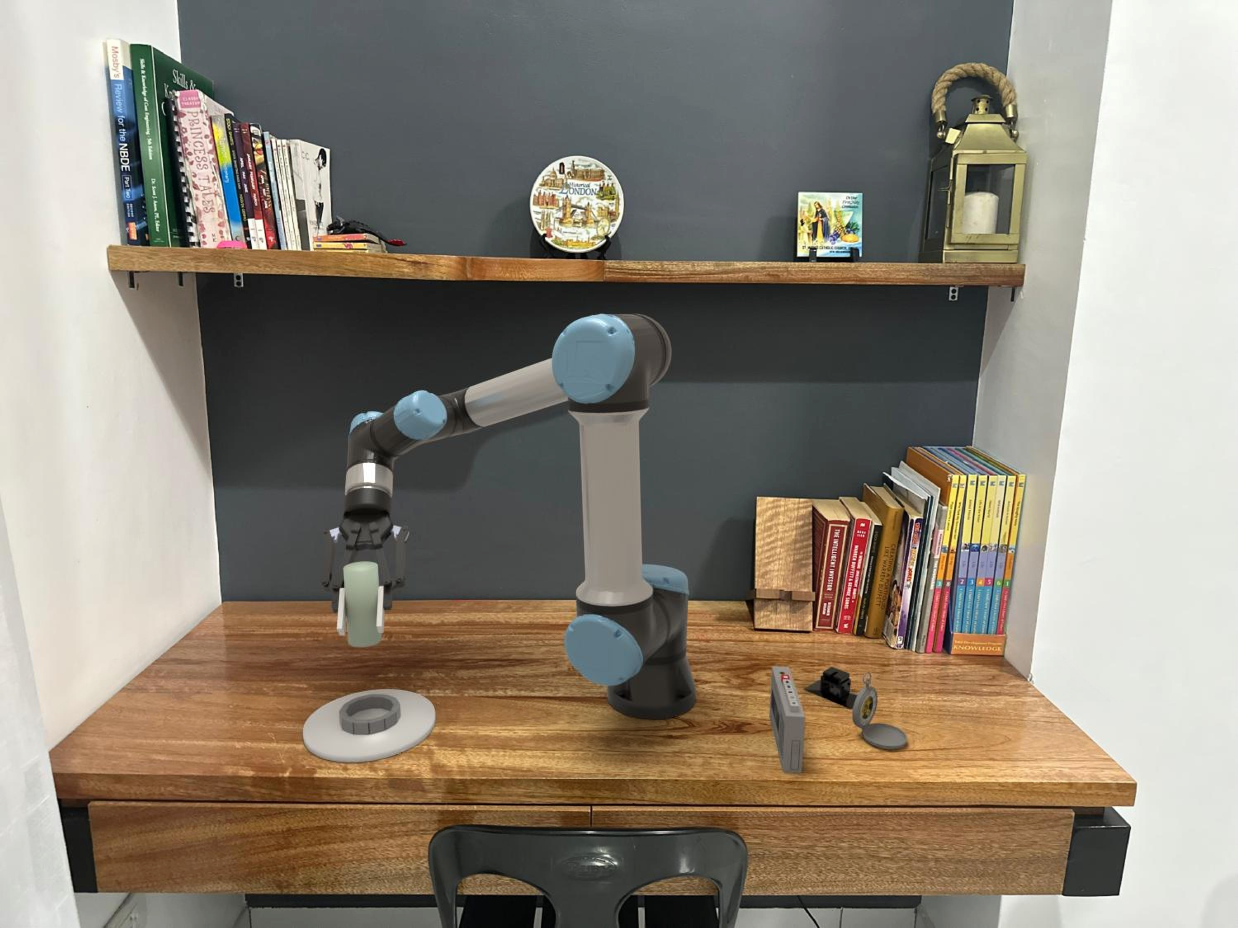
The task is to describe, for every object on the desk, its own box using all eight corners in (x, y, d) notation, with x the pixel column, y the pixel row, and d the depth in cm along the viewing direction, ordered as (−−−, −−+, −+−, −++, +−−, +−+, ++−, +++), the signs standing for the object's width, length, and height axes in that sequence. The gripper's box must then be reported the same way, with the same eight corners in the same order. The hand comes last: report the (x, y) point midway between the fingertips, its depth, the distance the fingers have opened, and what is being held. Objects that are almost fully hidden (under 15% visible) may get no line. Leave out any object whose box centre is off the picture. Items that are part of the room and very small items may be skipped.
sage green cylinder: (385, 633, 126) (381, 561, 124) (376, 647, 121) (372, 572, 119) (354, 633, 126) (349, 561, 124) (343, 647, 121) (338, 572, 119)
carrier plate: (447, 695, 136) (446, 678, 136) (418, 762, 117) (417, 743, 116) (330, 695, 136) (328, 677, 136) (282, 761, 117) (280, 742, 116)
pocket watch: (909, 754, 120) (915, 693, 118) (851, 747, 122) (856, 687, 120) (902, 726, 128) (907, 668, 126) (847, 720, 130) (852, 663, 128)
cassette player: (769, 716, 131) (772, 660, 129) (785, 717, 131) (789, 661, 128) (782, 772, 115) (786, 709, 113) (801, 773, 115) (805, 710, 113)
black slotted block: (792, 690, 140) (794, 666, 140) (815, 677, 145) (817, 654, 144) (856, 717, 132) (858, 692, 131) (878, 702, 137) (880, 677, 136)
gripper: (425, 506, 137) (424, 636, 124) (315, 510, 133) (302, 643, 121) (422, 483, 130) (420, 617, 118) (306, 487, 127) (292, 624, 115)
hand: (360, 630), depth 119 cm, fingers closed on sage green cylinder, 5 cm apart
